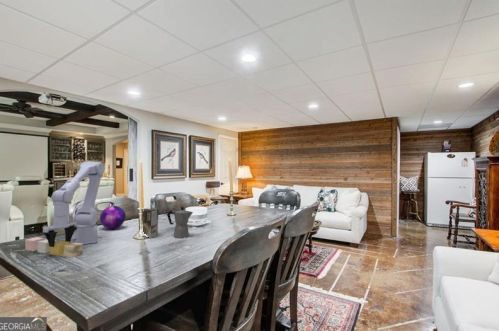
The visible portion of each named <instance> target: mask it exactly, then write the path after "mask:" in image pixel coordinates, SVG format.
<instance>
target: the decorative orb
mask: <svg viewBox="0 0 499 331" xmlns="http://www.w3.org/2000/svg"><path fill="white" fill-rule="evenodd" d="M126 218H127V217H126V212H125V210H124V209H123V208H122V207H120V206H117V205H110V206H108V207H105V209H103V210H102V211H101V213H100V215H99V221H100V225H102V227H104V228H105V229H108V230H113V229H114V230H115V229H118V228H120V227H121V226H122V225H123V224H124V223H125V220H126Z"/></svg>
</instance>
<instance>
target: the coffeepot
mask: <svg viewBox="0 0 499 331" xmlns="http://www.w3.org/2000/svg"><path fill="white" fill-rule="evenodd" d="M193 213H194V212H193V211H189V210H184V206H180V210H179V209H178V210H169V211H168V212H167V213H166V216H167V218H168V222H169V225H174V222H172V219H171V215H174V221H175V227H174V232H173V237H174V238H175V239H184V238H183V237H186V238H188V237H189V236H190V233H189V227H188V223H189V219H190V217H191V216H192V214H193ZM187 236H188V237H187Z"/></svg>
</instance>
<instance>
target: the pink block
mask: <svg viewBox="0 0 499 331" xmlns="http://www.w3.org/2000/svg"><path fill="white" fill-rule="evenodd" d="M43 240H45V238H44V237H40V236H36V237H32V238H28V239H25V242H24V243H25V246H24V247H25V248H24V251H29V252H35V251H38V242H39V241H43Z"/></svg>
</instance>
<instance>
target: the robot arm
mask: <svg viewBox="0 0 499 331" xmlns="http://www.w3.org/2000/svg"><path fill="white" fill-rule="evenodd" d="M104 171H105V166H104V164H103V162H102V161H83V162H81V164H80V165H79V170H78V171H77V173H76V174H75V175H74V177H73V178H69V179H68V180H66V182H65V183H64V184H63V185H61V186H62V187H60V189H57V190H55V191H54V192H52V195H51V197H50V198H51V201H52V206H54V208H53V222H52V225H49V226H46V227H43V228H42V233H43V235H44V237H45V238H46V240H48V243H49V247H54V245H55V240H56V237H57V234H58V232H57V230H62V229H64V230H63V231H64V234H65V237H64V238H65V240H64V241H66V242H69V243H71V240H72V237H73V235H74V233H75V231H76V240H75V242H74V243H80V244H83V245H88V244H96V243H98V224H96V223H98V222H97V221H98V210H96V209H95V203H96V199H97V196H98V192H99V188H100V183H101V179H102V178H103V174H104ZM85 178H88V179H89V180H88V183H87V189H86V192H85V197H84V200H83V203H82V207H80V208H78V209H77V210H76V212H75V214H74V216H73V218H72V219H73V220H72V221H71V222H69V221H70V220H69V219H70V218H69V216H70V202H71V201H73V199H74V195H75V192H76V191H77V190H78V189H79V188H80V187H81V182H82V181H83V180H84V179H85Z"/></svg>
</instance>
